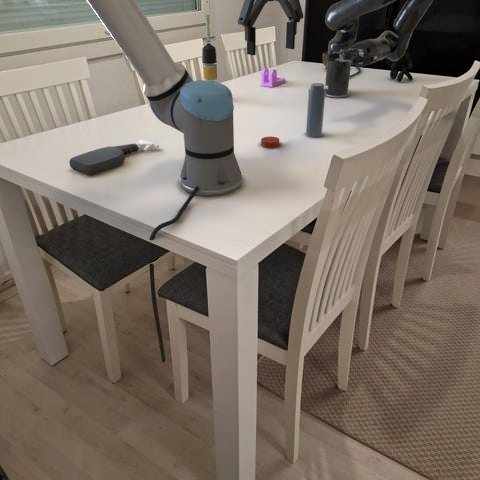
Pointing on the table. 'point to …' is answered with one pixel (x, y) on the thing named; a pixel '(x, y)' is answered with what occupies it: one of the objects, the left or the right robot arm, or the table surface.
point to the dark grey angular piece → (398, 64)
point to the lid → (270, 142)
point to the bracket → (270, 78)
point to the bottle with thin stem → (209, 57)
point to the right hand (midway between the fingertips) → (340, 59)
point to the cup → (325, 59)
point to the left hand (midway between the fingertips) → (271, 51)
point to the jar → (315, 110)
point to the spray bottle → (106, 157)
